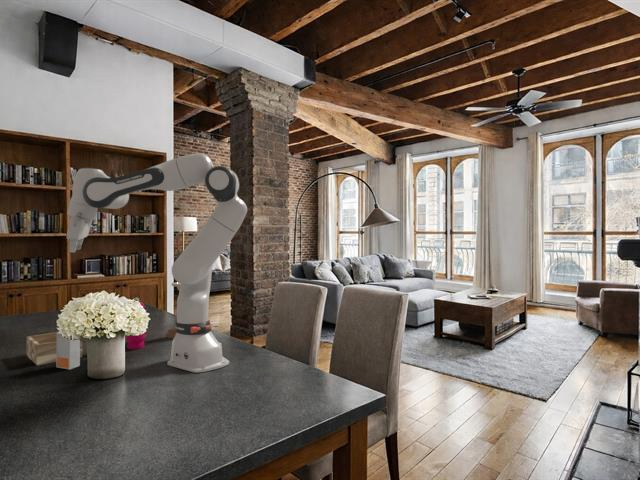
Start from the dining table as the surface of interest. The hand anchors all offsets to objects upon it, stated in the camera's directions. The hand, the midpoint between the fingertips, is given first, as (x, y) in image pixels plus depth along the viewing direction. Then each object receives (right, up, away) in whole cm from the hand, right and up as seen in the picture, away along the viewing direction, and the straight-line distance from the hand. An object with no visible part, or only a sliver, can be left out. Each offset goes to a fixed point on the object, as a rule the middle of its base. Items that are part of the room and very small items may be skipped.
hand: (74, 250), depth 142 cm
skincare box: (+1, -40, -6) cm, 40 cm away
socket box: (-11, -39, +6) cm, 41 cm away
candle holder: (+26, -40, +37) cm, 60 cm away
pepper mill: (+13, -40, +19) cm, 46 cm away
